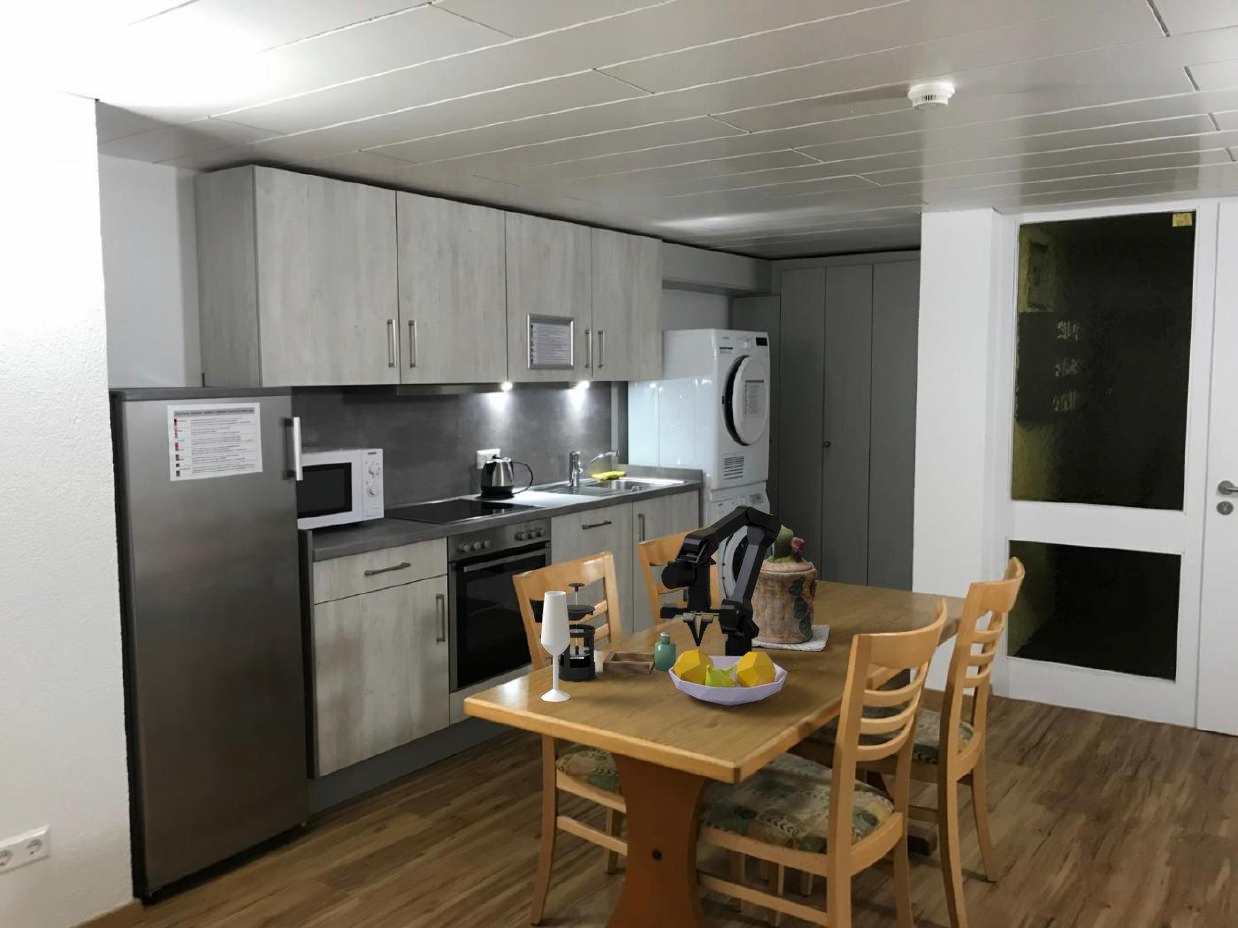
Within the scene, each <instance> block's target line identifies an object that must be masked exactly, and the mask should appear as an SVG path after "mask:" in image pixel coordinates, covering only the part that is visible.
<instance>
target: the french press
mask: <svg viewBox="0 0 1238 928" xmlns="http://www.w3.org/2000/svg"><path fill="white" fill-rule="evenodd" d="M567 586H568V587H571V588H574V592H575V604H567V611H568V621H571V622H575V623H569V631H570V630H572V631H573V630H576V631H575V632H570V639H575V643H576V644H575V646H571V643H570V644H569V645H568V647H567V648H566V649H565V650H564V651H563V652H562V653H561V654H560V655H558V680H561V681H563V682H568V681H573V682H572V683H582V682H581V681H585V682H590V681H592V680H594V679H596V678H597V673H596V661H595V635H596V626H594V625H591V624H586V623H585V624H584V623H578V622H579V621H581V620H582V619H584V618H585V617H586V616H587V615H589V616H591V617H592V616H594V612H595V611H596V607H595V606H593V605H588V604H578V592H579V591H580V588H582V587H586V584H585V583H582V582H571V583H569V584H567ZM579 630H583V631H581V632H578V631H579ZM579 639H583V646H582V645H580V646H579V645H578V643H579V641H578V640H579Z"/></svg>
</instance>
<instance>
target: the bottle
mask: <svg viewBox="0 0 1238 928" xmlns="http://www.w3.org/2000/svg"><path fill="white" fill-rule="evenodd" d="M671 633H672V632H667V631H664V632H661V633H660V641H656V642H655V644H654V645H655V646H654V648H655V649H654V665H655V666H654V670H656V671H658V672H662V673H663V672H665V673H667V672H668V673H669V671H668V670H669V669H671V668H672V667H673V666H674V664H675V663H676V661H677V643H676V642H675V641H671V635H672V634H671Z"/></svg>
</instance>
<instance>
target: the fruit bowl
mask: <svg viewBox="0 0 1238 928" xmlns="http://www.w3.org/2000/svg"><path fill="white" fill-rule="evenodd" d="M668 671H669V672H668V673H669V675H670V677H671V679H672V681H673V683H674V685H675V687H676V689H678V690H679V691H681V692H683V693H686V694H688V695H690V696H692V697H694V698H696V699H698V700H702V701H706V702H711V703H715V704H718V705H723V706H728V707H731V706H736V705H741V704H747V703H751V702H758V701H761V700H763V699H765V698H768V697H769V696H771V695H773V694H775V693H778V692H780V691H781V689H782V687H783V685H784V682H785V679H786V677H787V675H788V671H787V670H786V669H784V668H783V667H781V666H779V665H777V664H776V663H775V662H773V660H772V658H771V657H770V656H769V655H768V653H766V651H752V652H748V653H747V654H745V655H744V656H725V655H707V654H706V653H705V652H704V651H703V650H701V649H700V648H695V649H690V650H685V651H683V652H682V653H681V654H680V655H678V657H677V658H676V663H675V664H674V666H673V667H672V668H671V669H669V670H668Z"/></svg>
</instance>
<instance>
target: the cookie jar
mask: <svg viewBox="0 0 1238 928" xmlns="http://www.w3.org/2000/svg"><path fill="white" fill-rule="evenodd" d="M805 543H806V542H805V540H804V539H803V538H800V537H796V536H794V532H793V529H790V528H787V527H786V526H784V525H783V524H782V525H781V530H780V533H779V535H778V537H777V539H776V541H775V542H774V543H773V554H772V555H770V556H769V557H768V558H767V559H764V561H763V564H762V567H761V570H760V574H759V577H758V580H757V583H756V586H755V590H754V593H753V596H752V599H751V603H752V607H753V612H754V613H753V618H752V620H753V621H754V622H755V624H756V625H757V626H758V627H759V629H760V630H759V634H758V637H755V639H752V647H762V648H766V649H775V650H776V649H777V650H788V651H789V650H790V651H800V650H802V651H803V652H810V651H819V652H821V651H823V650H824V648H825V647H826V643H827V641H828V638H829V634H830V629H831V628H830V625H829V624H813V622H814V620H815V610H814V601H815V599H816V592H817V586H818V582H817V581H816V580H817V578H818V570H817V569H816V567H815V565H814V563H813V562H812V561H809V562H808V561H807V560H805V558H803V557H802V555H801V554H800V553H802V552H804V550H805V547H806V544H805Z"/></svg>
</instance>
